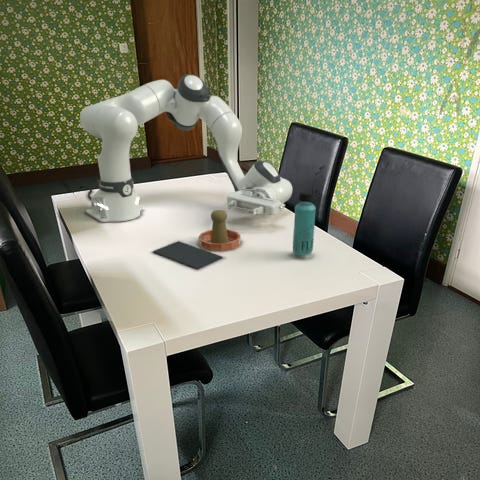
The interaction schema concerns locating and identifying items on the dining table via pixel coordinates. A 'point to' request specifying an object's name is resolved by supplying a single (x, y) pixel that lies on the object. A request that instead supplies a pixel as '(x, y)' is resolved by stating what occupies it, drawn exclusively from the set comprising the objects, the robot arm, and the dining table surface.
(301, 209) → the beverage bottle
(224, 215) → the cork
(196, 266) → the mat
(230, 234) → the orange ring
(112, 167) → the robot arm
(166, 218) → the dining table surface
